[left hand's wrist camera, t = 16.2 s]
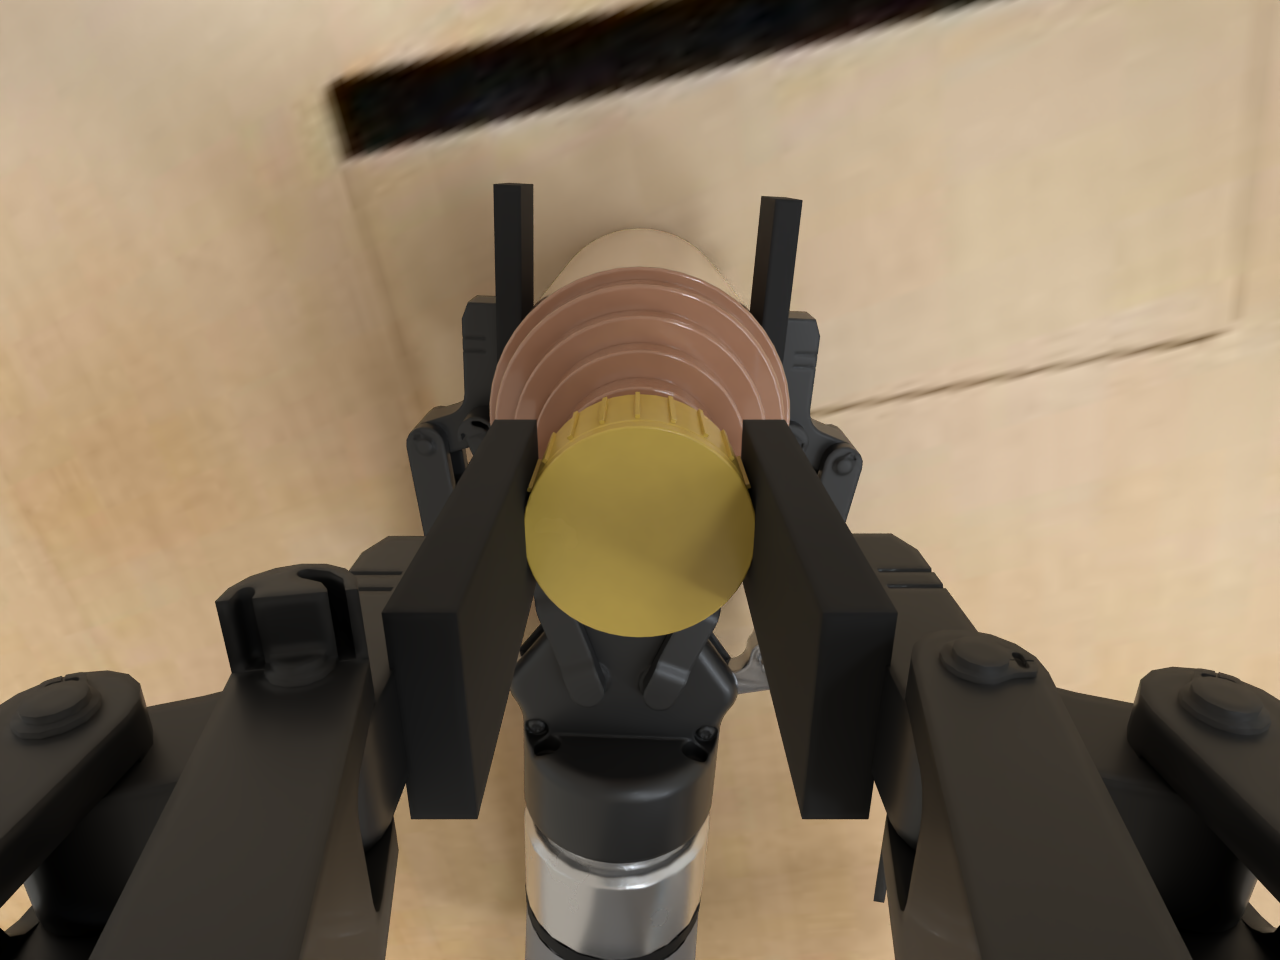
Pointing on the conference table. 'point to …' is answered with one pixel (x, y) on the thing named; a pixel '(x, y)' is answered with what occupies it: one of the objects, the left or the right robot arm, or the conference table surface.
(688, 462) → the cap
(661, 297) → the bottle
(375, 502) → the conference table surface
